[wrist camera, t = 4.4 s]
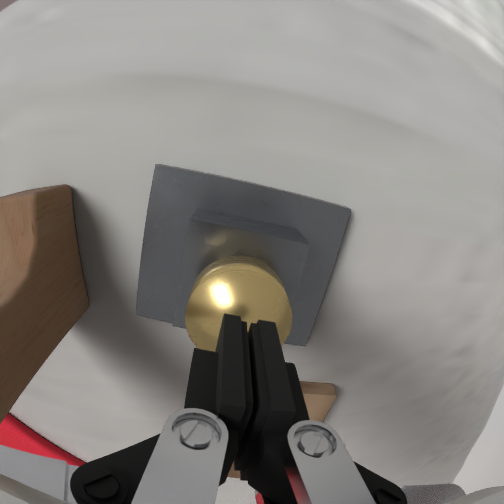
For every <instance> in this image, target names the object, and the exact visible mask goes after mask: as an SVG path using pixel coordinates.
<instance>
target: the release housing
mask: <svg viewBox="0 0 504 504" xmlns="http://www.w3.org/2000/svg"><path fill="white" fill-rule="evenodd" d="M350 212H351V209H350V208H348V207H345V206H341V205H338V204H334V203H330V202H327V201H323V200H319V199H315V198H312V197H308V196H304V195H300V194H296V193H292V192H288V191H284V190H280V189H276V188H272V187H268V186H264V185H259V184H255V183H251V182H246V181H242V180H237V179H233V178H228V177H223V176H219V175H214V174H209V173H204V172H199V171H194V170H189V169H184V168H178V167H173V166H167V165H162V164H156V165H155V170H154V175H153V181H152V186H151V192H150V198H149V204H148V210H147V216H146V223H145V230H144V238H143V245H142V253H141V262H140V271H139V281H138V292H137V305H136V315H139V316H143V317H148V318H152V319H156V320H160V321H165V322H169V323H173V326H176V327H180V328H185V329H187V328H186V324H185V313H186V308H187V304H188V301H189V298H190V294H191V291H192V288H193V285H194V282H195V280H196V278H197V277H198V275H199V274H200V273H201V271H202V270H203V269H204V268H206V267H207V266H208V265H210V264H211V263H213V262H214V261H216V260H219V259H221V258H225V257H229V256H247V257H252V258H255V259H258V260H260V261H262V262H264V263H266V264H267V265H268V266H270V267H271V268H272V269H273V270H274V271H275V272H276V273H277V275H278V276H279V278H280V279H281V281H282V284H283V286H284V289H285V292H286V295H287V297H288V300H289V303H290V306H291V310H292V326H291V330H290V333H289V335H288V337H287V339H286V340H285V342H284V343H285V344H292V345H299V346H306V343H307V341H308V338H309V335H310V333H311V330H312V327H313V325H314V322H315V319H316V317H317V314H318V311H319V308H320V305H321V303H322V300H323V297H324V294H325V291H326V288H327V285H328V282H329V279H330V276H331V273H332V270H333V267H334V264H335V261H336V258H337V255H338V252H339V248H340V245H341V242H342V239H343V235H344V232H345V229H346V225H347V222H348V218H349V215H350Z"/></svg>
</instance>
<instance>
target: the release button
mask: <svg viewBox="0 0 504 504" xmlns="http://www.w3.org/2000/svg"><path fill="white" fill-rule="evenodd" d="M224 313H226V314H231V315H236V316H241V321H245V322H247V330H248V331H249V327H250V324H251V323H257V321H258V320H265V321H271V322H275V323H276V326H277V331H278V335H279V339H280V343H281V346H282V345H283V343H284V342H285V340H286V339H287V337H288V335H289V333H290V330H291V326H292V310H291V306H290V303H289V300H288V297H287V295H286V292H285V289H284V286H283V284H282V281H281V279H280V278H279V276H278V275H277V273H276V272H275V271H274V270H273V269H272V268H271V267H270V266H268V265H267V264H266V263H264V262H262V261H260V260H258V259H255V258H252V257H247V256H229V257H225V258H221V259H219V260H216V261H214V262H213V263H211V264H210V265H208V266H207V267H206V268H204V269H203V270H202V271H201V273H200V274H199V275H198V277H197V278H196V280H195V282H194V285H193V288H192V291H191V294H190V298H189V301H188V304H187V308H186V313H185V324H186V328H187V332H188V334H189V336H190V338H191V340H192V341H193V343H194V344H195V345H196V346H197V347H198V349H203V350H208V351H214V352H215V350H216V346H217V341H218V337H219V332H220V328H221V323H222V319H223V315H224Z"/></svg>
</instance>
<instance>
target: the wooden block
mask: <svg viewBox="0 0 504 504" xmlns="http://www.w3.org/2000/svg"><path fill="white" fill-rule="evenodd" d="M88 307H89V301H88V296H87V292H86V287H85V282H84V277H83V272H82V267H81V261H80V256H79V249H78V243H77V236H76V229H75V221H74V213H73V203H72V192H71V187H70V186H69V185H66V184H63V185H56V186H50V187H43V188H37V189H31V190H25V191H22V192H18V193H14V194H10V195H6V196H3V197H0V424H1V423H2V421H3V420H4V418H5V417H6V415H7V414H8V412H9V411H10V409H11V408H12V406H13V405H14V403H15V402H16V400H17V399H18V398H19V396H20V395H21V393H22V392H23V390H24V389H25V388H26V386H27V385H28V383H29V382H30V381H31V379H32V378H33V377H34V375H35V374H36V373H37V371H38V370H39V369H40V367H41V366H42V365H43V363H44V362H45V361H46V359H47V358H48V357H49V355H50V354H51V353H52V352H53V350H54V349H55V348H56V346H57V345H58V344H59V343H60V341H61V340H62V339H63V338H64V336H65V335H66V334H67V333H68V331H69V330H70V329H71V328H72V327H73V325H74V324H75V323H76V322H77V320H78V319H79V318H80V317H81V316H82V314H83V313H84V312H85V311H86V310H87V309H88Z"/></svg>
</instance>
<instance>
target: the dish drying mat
mask: <svg viewBox="0 0 504 504" xmlns="http://www.w3.org/2000/svg"><path fill="white" fill-rule="evenodd" d="M0 445H3V446H7V447H10V448H13V449H17V450H20V451H24V452H28V453H32V454H36V455H40V456H44V457H49V458H53V459H58V460H63V461H66V462H67V464H68V465H74V466H81V465H83V464H85V462H83V461H81V460H79V459H77V458H76V457H74V456H72V455H70V454H69V453H67V452H65V451H64V450H62V449H60V448H58V447H57V446H55V445H54V444H52V443H51V442H49V441H47V440H46V439H44V438H43V437H41V436H40V435H38V434H37V433H35V432H34V431H33V430H31V429H30V428H28V427H27V426H25V425H24V424H23V423H21V422H20V421H18V420H17V419H16V418H14V417H13V416H12V415H10V414H9V413H8V414H7V415H6V417H5V418H4V420H3V421H2V423H1V424H0Z"/></svg>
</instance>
